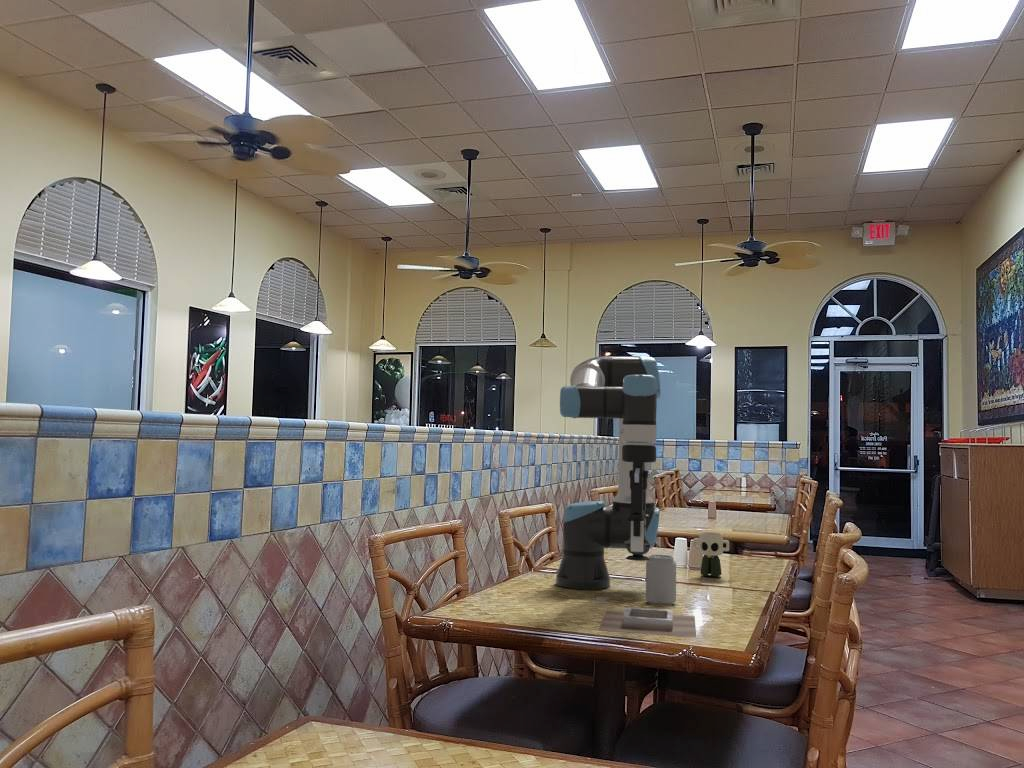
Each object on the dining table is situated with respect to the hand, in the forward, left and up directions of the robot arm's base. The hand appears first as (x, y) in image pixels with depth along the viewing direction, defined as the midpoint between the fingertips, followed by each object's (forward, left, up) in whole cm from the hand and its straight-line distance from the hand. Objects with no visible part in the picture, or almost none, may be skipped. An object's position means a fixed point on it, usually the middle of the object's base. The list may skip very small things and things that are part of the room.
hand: (638, 549), depth 176 cm
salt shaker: (0, 0, -2) cm, 2 cm away
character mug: (-74, +18, -17) cm, 78 cm away
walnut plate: (0, +2, -17) cm, 17 cm away
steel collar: (0, +2, -16) cm, 16 cm away
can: (-28, +4, -17) cm, 33 cm away
